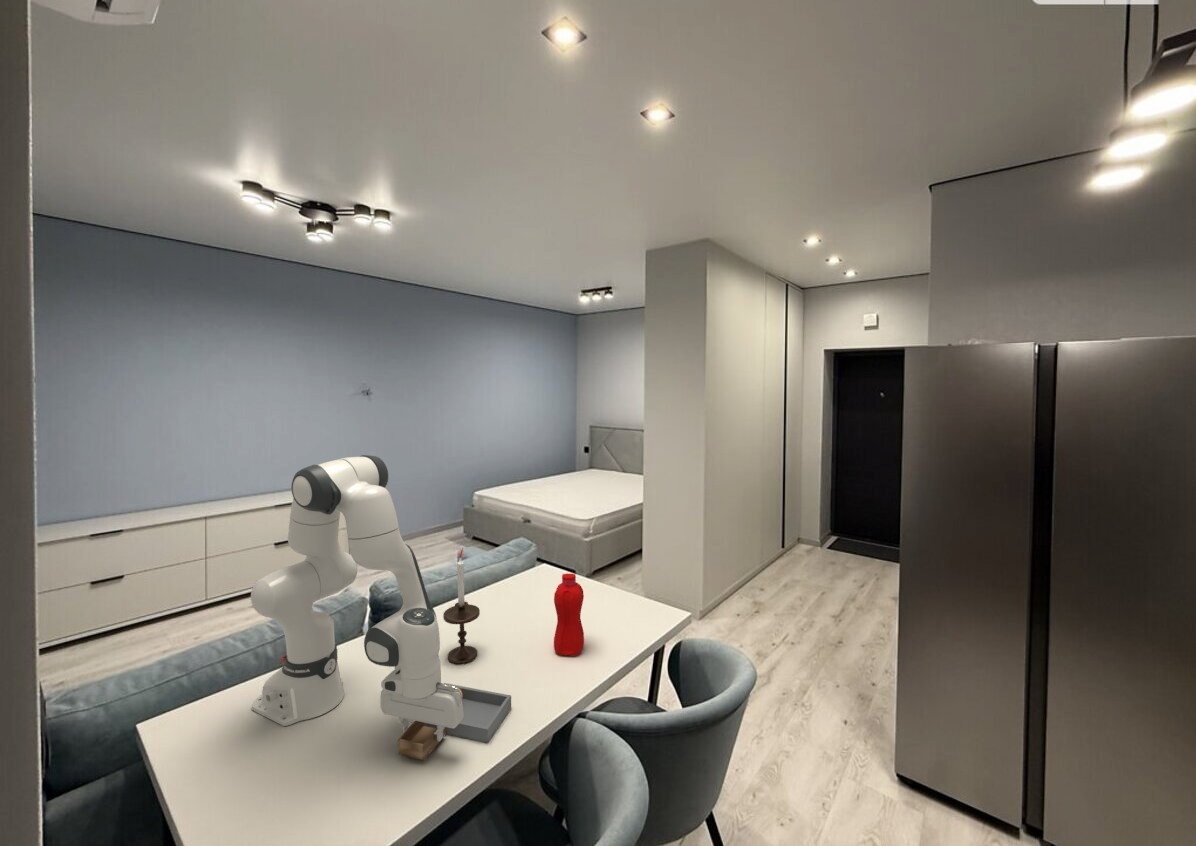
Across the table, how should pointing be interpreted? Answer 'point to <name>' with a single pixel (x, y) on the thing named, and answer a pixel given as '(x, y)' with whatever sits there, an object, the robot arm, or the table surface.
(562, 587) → the water bottle
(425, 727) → the small wooden box
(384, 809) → the table surface
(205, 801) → the table surface
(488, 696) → the tray
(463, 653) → the candlestick
